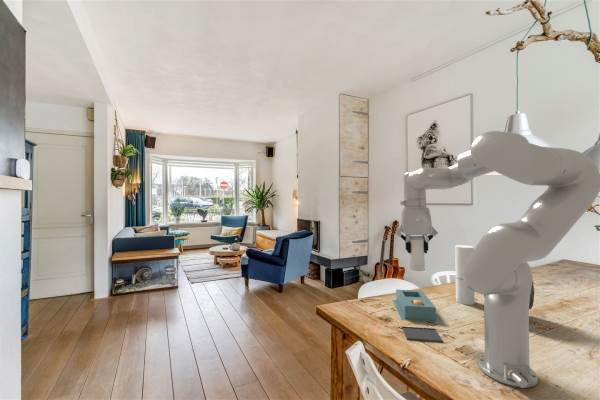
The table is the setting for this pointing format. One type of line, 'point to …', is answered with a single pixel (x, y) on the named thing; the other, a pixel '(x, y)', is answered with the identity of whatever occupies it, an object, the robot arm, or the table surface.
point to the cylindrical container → (462, 290)
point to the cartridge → (417, 253)
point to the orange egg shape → (417, 302)
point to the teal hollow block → (414, 306)
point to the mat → (421, 334)
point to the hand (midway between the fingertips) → (416, 252)
